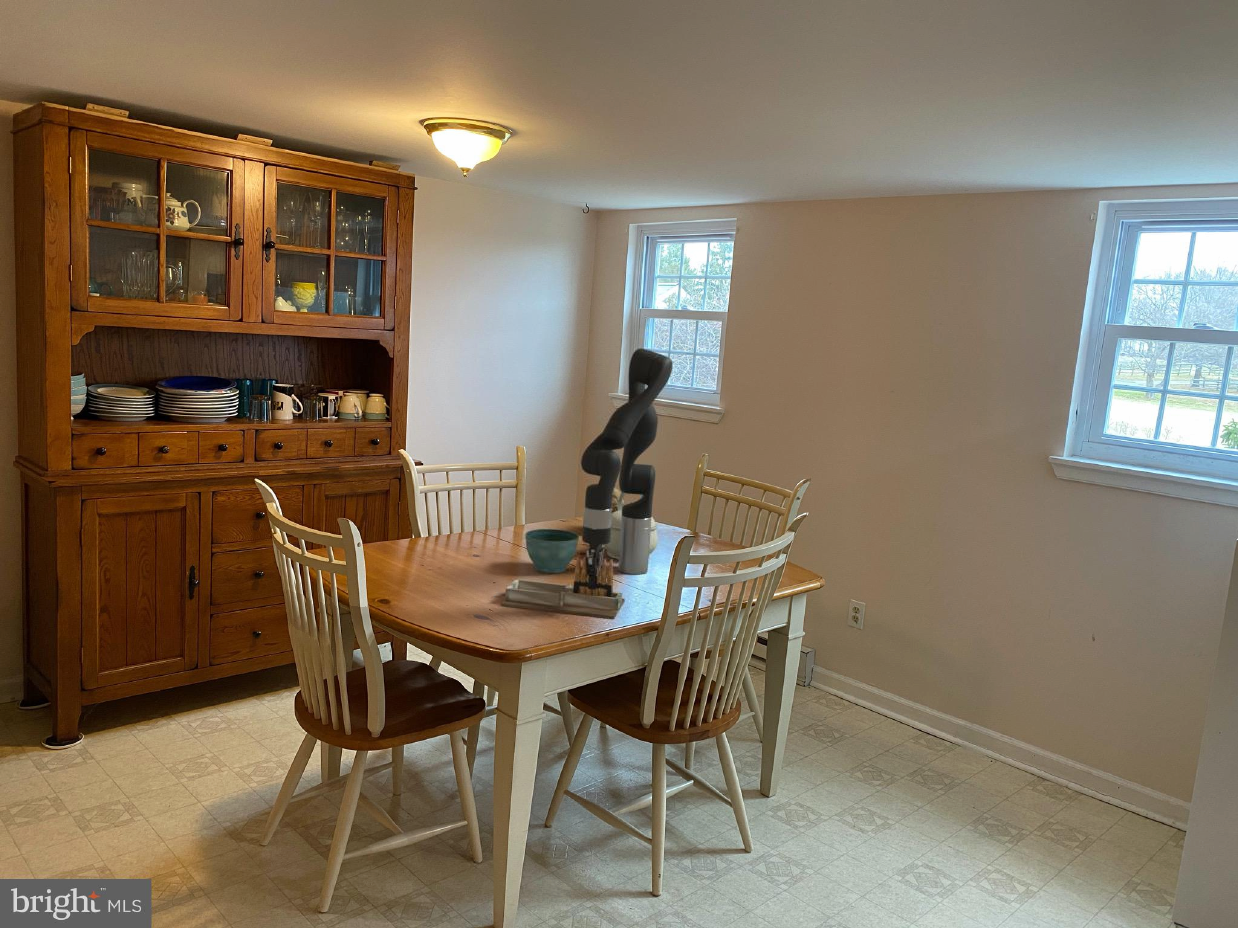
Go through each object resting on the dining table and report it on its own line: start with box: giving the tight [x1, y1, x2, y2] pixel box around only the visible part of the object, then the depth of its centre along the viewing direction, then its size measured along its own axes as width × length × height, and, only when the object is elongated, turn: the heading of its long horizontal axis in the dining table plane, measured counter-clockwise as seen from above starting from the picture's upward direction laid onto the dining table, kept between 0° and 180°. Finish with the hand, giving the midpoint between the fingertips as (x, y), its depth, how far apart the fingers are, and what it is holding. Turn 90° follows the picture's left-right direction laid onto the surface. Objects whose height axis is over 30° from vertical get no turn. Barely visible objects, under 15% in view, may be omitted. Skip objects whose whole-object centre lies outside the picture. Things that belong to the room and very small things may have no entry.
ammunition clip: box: [572, 555, 614, 598], centre depth 244 cm, size 11×2×12 cm, turn 80°
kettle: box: [603, 491, 659, 560], centre depth 302 cm, size 25×18×25 cm
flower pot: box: [524, 528, 580, 574], centre depth 279 cm, size 16×16×11 cm
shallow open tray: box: [501, 578, 626, 620], centre depth 246 cm, size 16×30×4 cm, turn 80°
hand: (593, 587), depth 244 cm, fingers closed on ammunition clip, 2 cm apart
